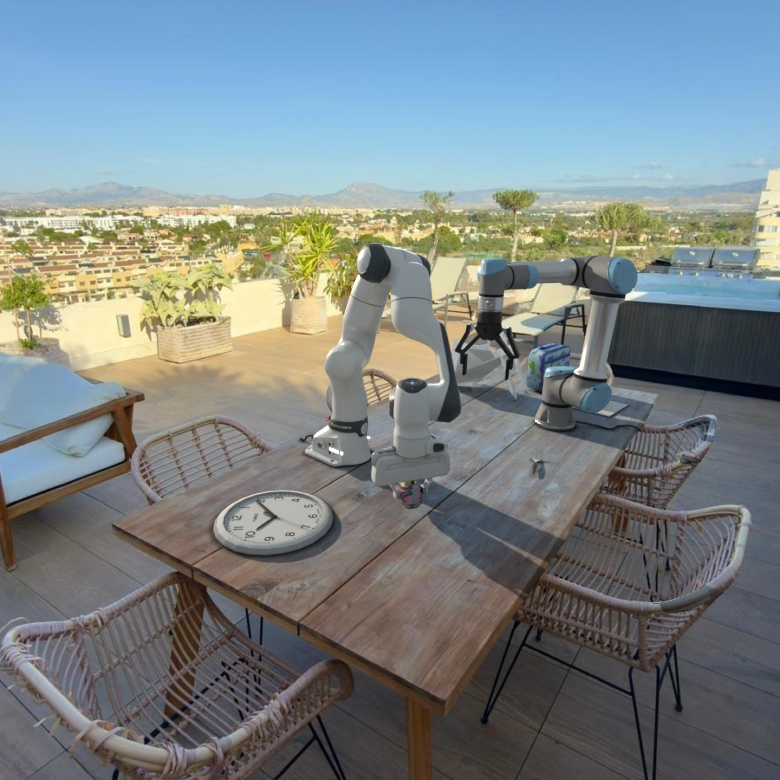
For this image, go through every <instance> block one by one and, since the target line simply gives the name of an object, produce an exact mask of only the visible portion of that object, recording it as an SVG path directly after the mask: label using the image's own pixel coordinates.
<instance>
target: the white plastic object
mask: <svg viewBox="0 0 780 780" xmlns="http://www.w3.org/2000/svg"><path fill="white" fill-rule="evenodd" d="M502 328H504V327H503V326H502ZM500 336H501V338H502V340H503V341H504V343H505V344H506V345H507V347H508V348H509V349H510V351H511V352H512V354H513V355H514V353H513V351H512V348H511V346H510V344H508V339H507V336H506V335H505V334H504V332H503V331H502V332H501V334H500ZM460 340H461V338H460V339H458V338H454V340H453V344H452V349H451V355H452V360H453V365H454V371H455V376H456V381H457V385H458V384H467V383H468V384H469V383H473V384H477V383H480V382H482V381H484V378H485V377H486V376H487V375H489V374H490V373H492V372H494V371H495V370H496V369H497V368H499V367H500V366H502V370H503V373H504V374H505V371H506V360H507V359H508V357H507V355H506V354H505V352H504V351H503V350H502V348H501V347H500V348H498V349H496V350H495V349H493V348H492V347H491V346H490V344H489V343H488V342H487V343H483V344H479V345H473V346H471V347H470V348H469V349H468V350H467V351H466V353H465V354H468V358H467V373H466V374H465V375H462V370H463V364H460V354H459V353H457V352H455V349H456V347H457V345H458V343H459V342H460ZM467 345H468V343H466V341H465V342H464V344H463V346H462V348H461V349H464V348H465V347H466V346H467ZM513 364H514V366H515V369H516V372H517V376H518V380H519V382H520V385H521V389H522V391H523V393H524V395H525V396H526V397H528V396H531V395H530V389H529V388H528V387H527V384H526V381H527V380H526V378H525V375H524V371H523V369H522V368H523V367H522V366H521V362H520V359H519V358H518V359H514V363H513ZM506 383H507V386H508V390H509V393H510V394H511V395H512V397H513V398H514V399H515V400H517V392H516V391H517V390H516V388H515V385H514V381H513V378H512V375H511V370H509V379H508V380H506Z"/></svg>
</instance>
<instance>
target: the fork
mask: <svg viewBox="0 0 780 780" xmlns="http://www.w3.org/2000/svg"><path fill="white" fill-rule="evenodd" d="M540 453H543V452H542V451H541V452H540ZM540 453H538V452H536V451H534V452H533V456H532V461H534V463H533V466H532V475H534V474H535V472H536V470H537V469H538V468H537V467H538V464H537V462H541V461H542V454H540Z"/></svg>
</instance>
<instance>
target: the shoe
mask: <svg viewBox="0 0 780 780" xmlns="http://www.w3.org/2000/svg"><path fill="white" fill-rule="evenodd" d="M388 486H389V487H390V488H391V486H390V485H388ZM395 488H396V489H399V491H401V498H396V499H397V501H398V502H399V503H400V504H401V505H402V507H404V508H405V509H406V510H415V509H418V508H419V507H420V506H421V505H423V502H424V496H423V494H422V493H421V491H420V485H419V484H418V482H417V480H414V481H408V482H402V483H397V487H395Z"/></svg>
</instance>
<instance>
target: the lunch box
mask: <svg viewBox="0 0 780 780" xmlns="http://www.w3.org/2000/svg"><path fill="white" fill-rule="evenodd" d="M570 361H571V347H570V345H565V344H558V343H549V344H545V345H542V346H541V345H540V346H538V347H536V348H533V349H531V351H530V353H529V354H528V358H527V368H526V380H525V381H526V384H527V387H528V390H530V389H531V390H534V391H535V390H536V391H539V392H541V393H542V390H543V379H544V375H545V370H546V369H547V368H549V367H555V366H567V367H570Z"/></svg>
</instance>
